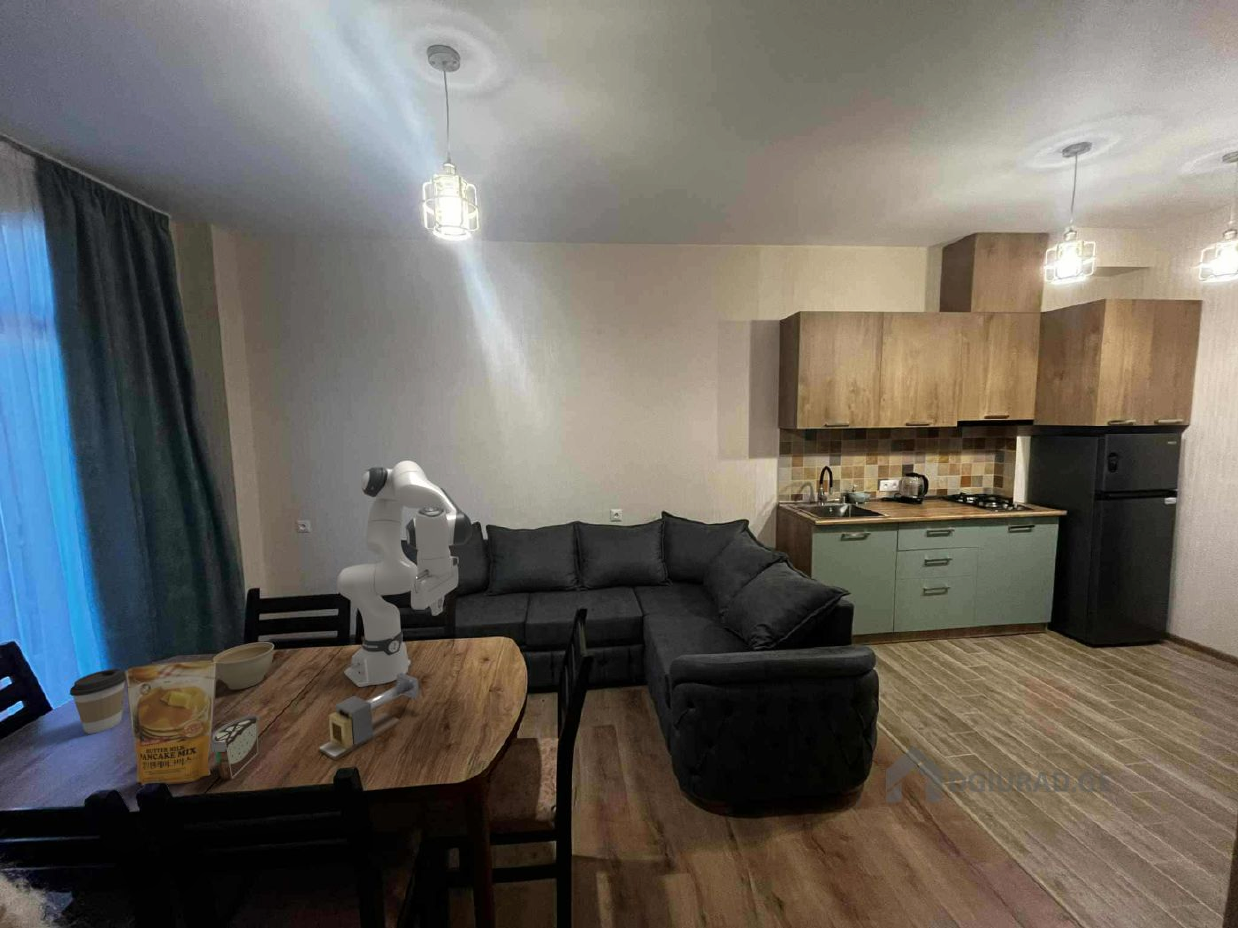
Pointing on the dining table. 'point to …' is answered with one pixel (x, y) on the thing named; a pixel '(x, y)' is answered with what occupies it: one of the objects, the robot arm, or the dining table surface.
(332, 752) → the rig base
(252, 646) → the planter bowl
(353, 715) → the block
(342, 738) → the spacer
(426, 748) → the dining table surface
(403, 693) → the shaft
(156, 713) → the pancake mix bag
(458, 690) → the dining table surface
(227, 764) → the food container
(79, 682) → the coffee cup
